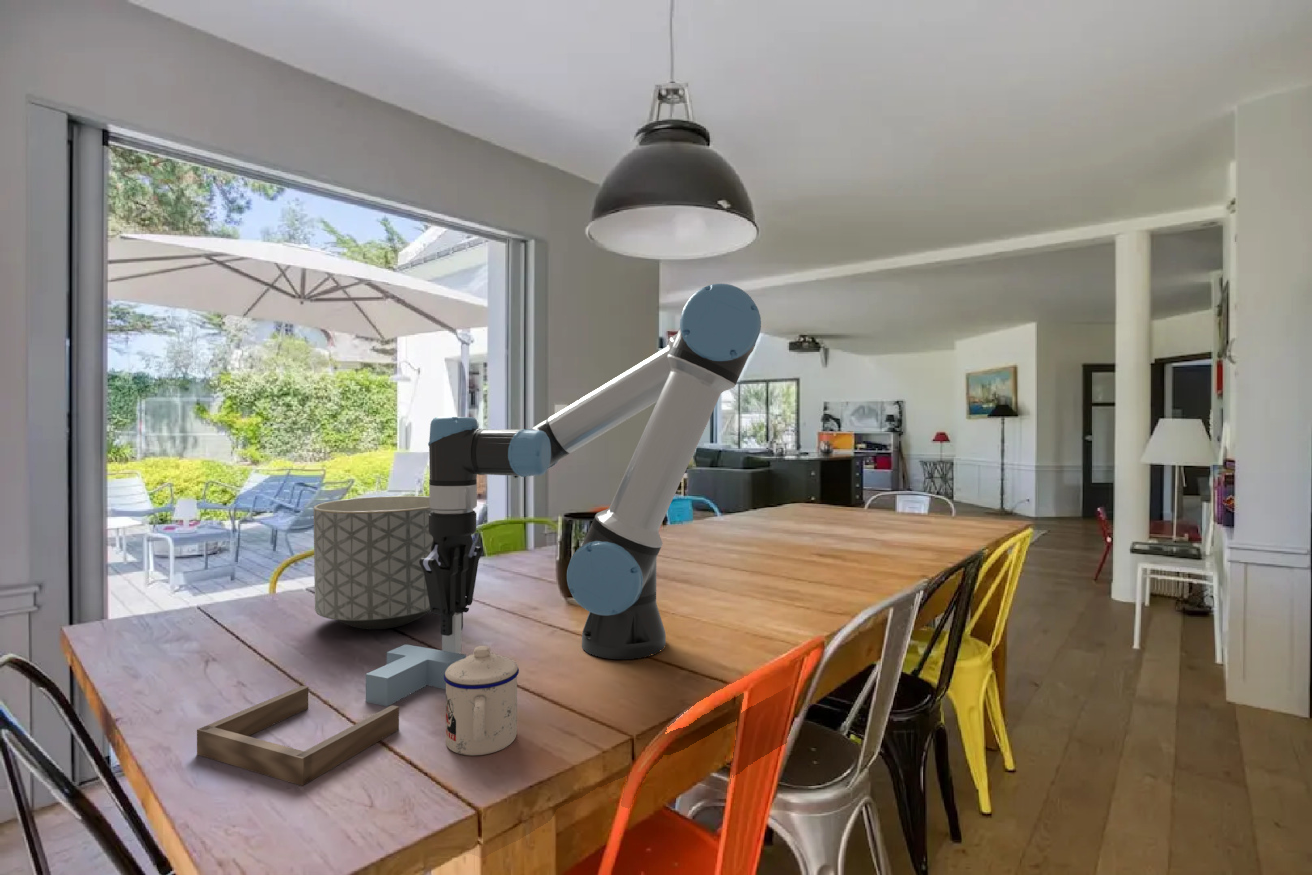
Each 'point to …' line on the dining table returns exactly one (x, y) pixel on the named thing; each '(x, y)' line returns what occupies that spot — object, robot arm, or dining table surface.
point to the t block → (408, 673)
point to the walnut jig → (282, 762)
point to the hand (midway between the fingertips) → (451, 652)
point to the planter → (372, 560)
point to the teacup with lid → (481, 703)
